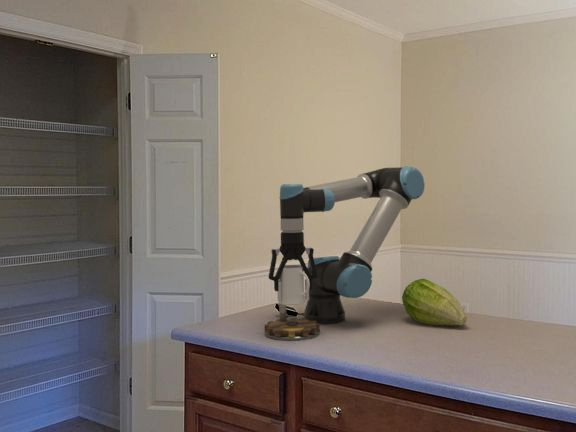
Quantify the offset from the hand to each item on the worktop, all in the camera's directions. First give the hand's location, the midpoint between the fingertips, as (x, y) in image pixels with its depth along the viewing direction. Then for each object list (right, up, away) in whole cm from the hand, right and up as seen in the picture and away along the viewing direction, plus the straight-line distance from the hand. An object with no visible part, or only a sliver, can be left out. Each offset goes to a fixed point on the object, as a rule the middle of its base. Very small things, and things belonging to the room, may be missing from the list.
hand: (293, 300), depth 192 cm
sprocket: (0, -11, +5) cm, 12 cm away
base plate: (0, -12, +5) cm, 13 cm away
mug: (+1, -1, 0) cm, 1 cm away
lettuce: (+50, -10, +14) cm, 53 cm away
